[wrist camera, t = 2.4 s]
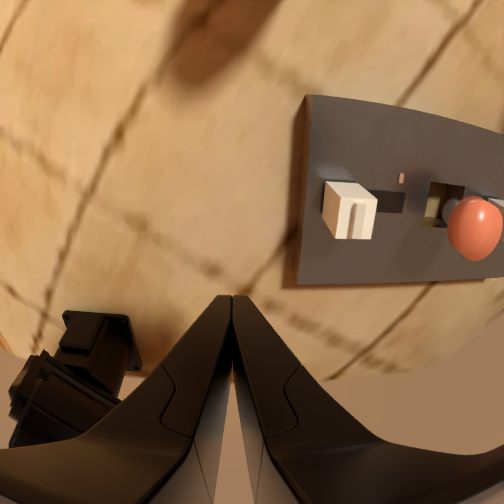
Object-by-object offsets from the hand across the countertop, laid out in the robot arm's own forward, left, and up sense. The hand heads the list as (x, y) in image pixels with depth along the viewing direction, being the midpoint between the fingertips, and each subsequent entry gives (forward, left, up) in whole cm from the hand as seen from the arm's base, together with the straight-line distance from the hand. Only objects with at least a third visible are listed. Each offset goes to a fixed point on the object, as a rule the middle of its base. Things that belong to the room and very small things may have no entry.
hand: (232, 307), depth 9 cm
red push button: (0, -14, -9) cm, 17 cm away
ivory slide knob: (0, -6, -10) cm, 12 cm away
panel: (0, -14, -12) cm, 19 cm away
